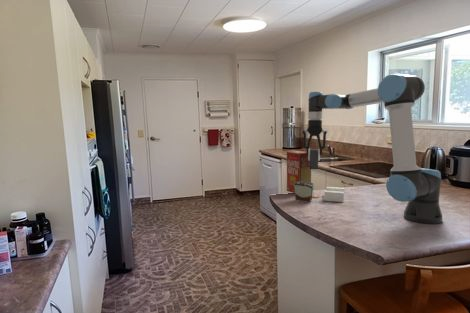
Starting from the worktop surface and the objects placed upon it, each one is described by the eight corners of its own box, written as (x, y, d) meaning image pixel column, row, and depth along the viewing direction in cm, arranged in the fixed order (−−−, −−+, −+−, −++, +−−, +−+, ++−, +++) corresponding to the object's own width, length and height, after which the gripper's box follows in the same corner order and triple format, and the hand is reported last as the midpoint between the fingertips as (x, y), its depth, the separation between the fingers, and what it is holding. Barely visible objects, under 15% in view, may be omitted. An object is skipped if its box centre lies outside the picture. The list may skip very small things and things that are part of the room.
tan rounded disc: (318, 198, 182) (318, 197, 182) (306, 197, 185) (306, 196, 185) (320, 195, 189) (320, 194, 189) (308, 194, 191) (308, 193, 191)
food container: (318, 201, 177) (318, 183, 175) (312, 203, 172) (313, 185, 171) (298, 197, 185) (299, 180, 184) (293, 199, 180) (293, 182, 179)
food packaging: (285, 190, 201) (286, 151, 198) (297, 188, 206) (297, 150, 202) (299, 195, 190) (300, 153, 186) (311, 193, 194) (312, 152, 191)
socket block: (343, 202, 174) (343, 193, 173) (324, 200, 177) (324, 191, 177) (344, 196, 186) (344, 187, 186) (326, 194, 190) (326, 186, 189)
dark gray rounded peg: (317, 169, 182) (318, 150, 180) (309, 169, 183) (309, 149, 182) (318, 168, 186) (319, 149, 185) (310, 167, 188) (310, 149, 186)
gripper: (331, 119, 181) (330, 160, 184) (300, 119, 188) (299, 158, 191) (330, 119, 174) (329, 162, 177) (298, 119, 181) (297, 160, 184)
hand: (314, 160), depth 184 cm, fingers closed on dark gray rounded peg, 5 cm apart
